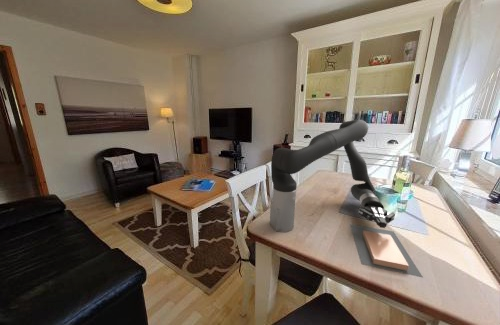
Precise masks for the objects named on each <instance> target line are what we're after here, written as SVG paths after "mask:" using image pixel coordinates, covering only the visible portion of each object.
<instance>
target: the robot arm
mask: <svg viewBox="0 0 500 325" xmlns="http://www.w3.org/2000/svg"><path fill="white" fill-rule="evenodd" d="M368 131H369V126H368V123H367V122H366V121H365V120H363V119H353V120H347V121H343V122H342V123H341V124H340V125H339V128H337V129H332V130H328V131H325V132H321V133H320V134H316V135H315V136H314V137H313V138H311V140H310V142H309V143H308V145H307V146H304V147H302V148H299V149H292V148H286V147H278V148H276V149H275V150H274V151H273V153H272V156H271V161H270V162H271V165H270V166H271V167H270V168H271V169H270V170H271V176H270V177H271V182H272V187H273V188H272V202H271V203H270V206H269V208H270V210H269V225H270V227H272V228H273V229H274V231H275V232H280V233H281V232H283V233H286V232H287V233H288V232H290V231H292V230H293V229H294V226H295V225H294V224H295V212H296V198H297V197H296V196H297V181H296V180H295V179H294V178H293V176H292V175H294V174H297V173H299V172H300V171H302V170H303V169H305V168H307V167H308V166H309V165H311V164H312V163H314V162H316V161H318V160H319V159H321V158H323V157H325V156H328V155H329V154H331V153H334V152H335V151H337V150H339V149H341V148H342V147H343V148H344V152H345V154H346V156H347V158H348V163H349V166H350V171H351V177H352V179H353V181H357V182H363V183H356V184H353V185H351V187H350V192H351V195H352V196H353V197H354V198H355V200H357V201H359V204H360V208H358V213H357V214H358V215H359V216H360V217H363V218H365V219H366V220H368V221H369V222H373V221H374V222H375V224H376V225H377V226H378V227H379V228H380V229H385V228H387V225H388V224H389V223H392V221H394V220H395V217H396V213H395V212H388V210H386V209H385V206H384V205H383V203H382V201H381V200H380V199H379V198H378V196H377V195H375V194H376V193H375V194H374V193H373V191H374V190H375V191H376V188H375V187H374V185H373V183H372V181H371V179H370V176H369V172H368V166H367V163H366V160H365V159H364V157H363V156H362V155H361V153H360V152H359V150H357V148H356V146H355V144H354V142H356V141H358V140H362V139H364V138H365V137H366V135H367V134H368Z"/></svg>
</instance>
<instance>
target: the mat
mask: <svg viewBox="0 0 500 325" xmlns="http://www.w3.org/2000/svg"><path fill="white" fill-rule="evenodd" d="M349 227H350V229H351V233H352V236H353V237H352V238H353V239H354V242H355V246H356V247H355V248H356V249H357V252H358V257H359V259H360V263H361V265H363V266H369V267H372V268H376V269H377V268H378V269H382V270H387V271H392V272H396V273H400V274H401V273H402V274H406V275H410V276H414V277H415V276H416V277H420V278H424V276H423V275H422V273H421V272H420V270H419V269H418V267H417V265H416V264H415V262H414V261H413V259H412V257H411V256H410V255H409V253H408V252H407V250H406V249H405V247H404V245H403V244H402V242H401V241H400V239H399V237H398V236H397V234H396V233H395V231H393V230H387V229H383V228H375V227H368V226H364V225H356V224H349ZM363 230H364V231H370V232H376V233H382V234H388V235H391V237H392V238H393V240H394V242H395V243H396V245H397V247H398V248H399V250H400V252H401V253H402V255H403V257H404V258H405V260H406V262H407V263H408V265H409V267H408V271H405V270H401V269H396V268H391V267H387V266H382V265H377V264H374V263H373V261H372V258H371V255H370V253H369V250H368V247H367V244H366V242H365V239H364V236H363Z"/></svg>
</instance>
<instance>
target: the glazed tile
mask: <svg viewBox="0 0 500 325" xmlns="http://www.w3.org/2000/svg"><path fill="white" fill-rule="evenodd" d="M363 236H364V239H365V242H366V244H367V247H368V250H369V253H370V255H371V258H372V261H373V263H374V264H377V265H382V266H387V267H391V268H396V269H401V270H405V271H408V267H409V265H408V263H407V262H406V260H405V258H404V257H403V255H402V253H401V252H400V250H399V248H398V247H397V245H396V243H395V242H394V240H393V238H392V237H391V235H388V234H382V233H376V232H370V231H364V230H363Z"/></svg>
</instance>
